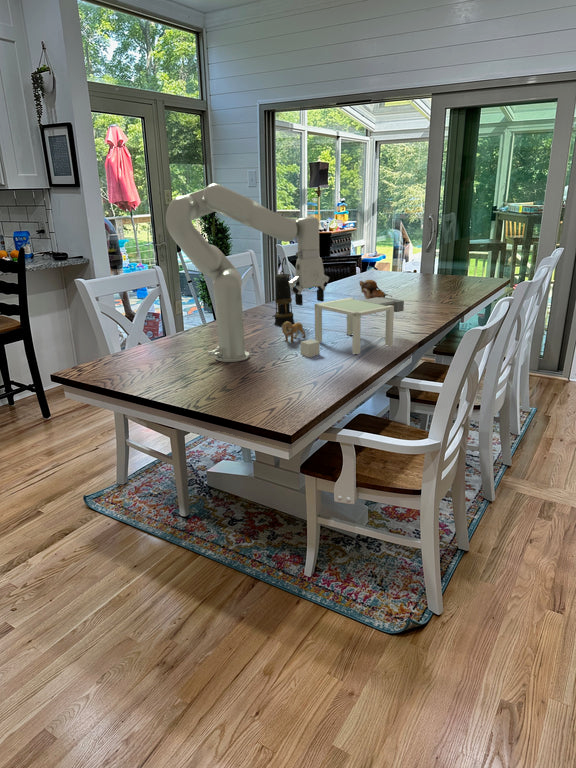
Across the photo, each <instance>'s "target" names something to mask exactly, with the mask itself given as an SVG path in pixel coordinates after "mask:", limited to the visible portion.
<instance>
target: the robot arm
mask: <svg viewBox="0 0 576 768" xmlns="http://www.w3.org/2000/svg"><path fill="white" fill-rule="evenodd" d="M214 212H216V213H218V214H220V215H222V216H224V217H227V218H228V219H232V220H234V221H235V222H238V223H240V224H242V225H245V226H247V227H248V228H252V229H254V230H257V231H258V232H261V233H263V234H266V235H268V236H270V237H272V238H275V239H277V240H279V241H281V242H286V243H287V242H288V243H289V242H291V241H293V240H295V239H296V240H297V251H296V252H295V257H297V258H296V263H295V274H294V276H295V277H293V279H291V280H290V282H289V285H290V291H292V292H293V293H294V299H295V305H296V306H303V304H304V303H303V294H302V292H303V291H304V290H305V289H312V288H317V289H316V301H318V302H321V303H324V302H325V301H324V300H325V299H324V298H325V294H324V293H325V290H326V287H327V286H328V282H329V280H330V277H329V276H328V275H326V274H325V270H324V264H323V263H324V262H323V259H322V257H320V223H319V222H320V221H319V219H318V217H313V216H312V217H311V216H309V217H299V218H294V217H286V216H284V215H282V214H279V213H277V212H275V211H272V210H270V209H269V208H267V207H265V206H263V205H262V204H260V203H259V202H258V201H255V200H254V199H252V198H250V197H247V196H245V195H242V194H241V193H239V192H236V191H235V190H232V189H230V188H228V187H226V186H224V185H222V184H219V183H210V184H208V185H207V186H206V187H205V188H202V189H199V190H197V191H196V190H195V191H194V192H191V193H188V194H185V195H178V196H176V197H174V198H173V199H172V200H171V201H170V203H169V204H168V207H167V210H166V213H165V225H166V229H167V231H168V234H169V235H170V237H171V238H172V239H173V241H174V242H175V244H176V245H177V246H178V248H180V250H181V251H182V252H183V253H184V254H185V256H186V257H187V258H188V259H189V260H190V262H191V263H192V264H193V265H194V266H195V268H196V269H197V270H198V271H199V272H200V273H201V274H205V275H207V276H208V277H209V278H210V279H211V281H212V282H213V297H214V304H215V305H214V306H215V316H216V329H217V330H216V331H217V341H218V345H217V346H216V347H215V349H213V350H208V351H206V355H207V357H208V358H209V357H212V356H213V357H214V358H215V360H216V361H218V362H223V363H236V362H241V361H245V360H248V359H249V357H250V352H248V351H246V348H245V331H244V315H243V314H244V313H243V298H242V296H243V295H242V286H243V285H242V283H243V279H242V276H241V273H240V272H239V271H238V270H237V268H236V267H235V265H233V264H232V262H231V261H230V260H229V259H228V257H226V255H225V254H224V252H222V250H221V249H219V247H217V246H216V245H214V244H210V243H209V242H208V241H207V240H206V239H205V238H204V236H203V235H202V234H201V232H199V230H198V229H197V228H196V227H195V226H194V224H193V220H196V219H198V218H201V217H205V216H207V215H209V214H212V213H214Z"/></svg>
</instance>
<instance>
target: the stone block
mask: <svg viewBox="0 0 576 768" xmlns="http://www.w3.org/2000/svg"><path fill="white" fill-rule="evenodd" d="M299 343H300V355H302V356H305V357H307V358H312V357H316V356H315V355H317V356H319V355H318V354H320V350H321V349H320V344H321V343H320V342H318V341H315V339H306V340H302V341H300V342H299Z"/></svg>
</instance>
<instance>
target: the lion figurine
mask: <svg viewBox="0 0 576 768" xmlns="http://www.w3.org/2000/svg"><path fill="white" fill-rule="evenodd" d="M291 324H292V323H291V322H288V321H286V322H284V323H283V325H282V326H281V329H282V330H281V332H282V333H283V334H284V337H285V340H284V342H285V343H287V342H289V338H288V337H289V336H290V343H294V339H297V336H298V335H299V333H298V332H300V334H301V336H302V339H305V338H306V332H305V331H304V328H303V324H302V323H301V322H294V324H293V325H291ZM294 334H295V335H294Z"/></svg>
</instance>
